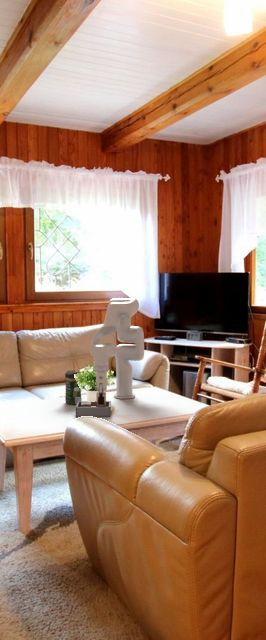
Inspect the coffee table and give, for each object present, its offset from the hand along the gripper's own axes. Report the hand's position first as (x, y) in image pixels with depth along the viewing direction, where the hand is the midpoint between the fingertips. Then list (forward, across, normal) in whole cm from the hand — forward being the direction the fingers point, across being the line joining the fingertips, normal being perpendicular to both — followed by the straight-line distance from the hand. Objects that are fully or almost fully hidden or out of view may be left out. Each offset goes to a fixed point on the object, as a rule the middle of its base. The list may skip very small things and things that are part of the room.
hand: (101, 402), depth 278 cm
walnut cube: (+5, 0, +8) cm, 10 cm away
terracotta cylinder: (+2, 0, 0) cm, 2 cm away
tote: (+6, 0, +4) cm, 7 cm away
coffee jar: (+6, +24, +17) cm, 30 cm away
